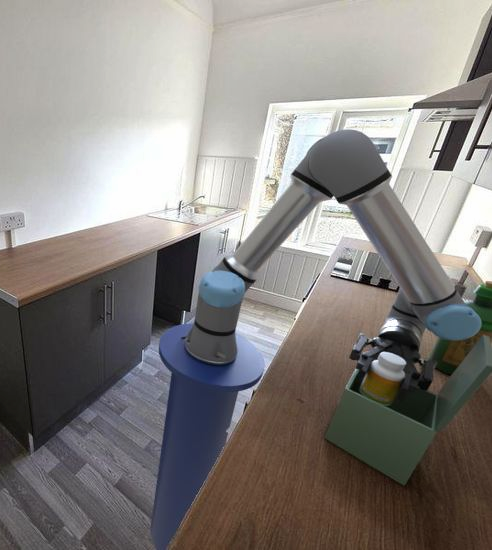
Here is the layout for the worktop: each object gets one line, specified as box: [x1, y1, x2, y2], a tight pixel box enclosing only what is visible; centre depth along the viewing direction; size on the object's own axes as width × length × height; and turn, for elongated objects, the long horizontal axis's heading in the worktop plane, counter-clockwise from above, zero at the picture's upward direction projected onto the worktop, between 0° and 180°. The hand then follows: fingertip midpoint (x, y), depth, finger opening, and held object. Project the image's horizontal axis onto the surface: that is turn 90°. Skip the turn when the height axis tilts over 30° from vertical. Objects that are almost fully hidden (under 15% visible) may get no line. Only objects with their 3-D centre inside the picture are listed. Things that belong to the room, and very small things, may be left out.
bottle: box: [428, 280, 492, 376], centre depth 84 cm, size 11×11×28 cm
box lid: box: [435, 335, 492, 433], centre depth 51 cm, size 14×13×1 cm
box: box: [324, 368, 438, 487], centre depth 61 cm, size 13×13×14 cm
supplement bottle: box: [359, 352, 406, 406], centre depth 59 cm, size 5×5×10 cm
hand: (381, 385), depth 55 cm, fingers closed on supplement bottle, 5 cm apart
